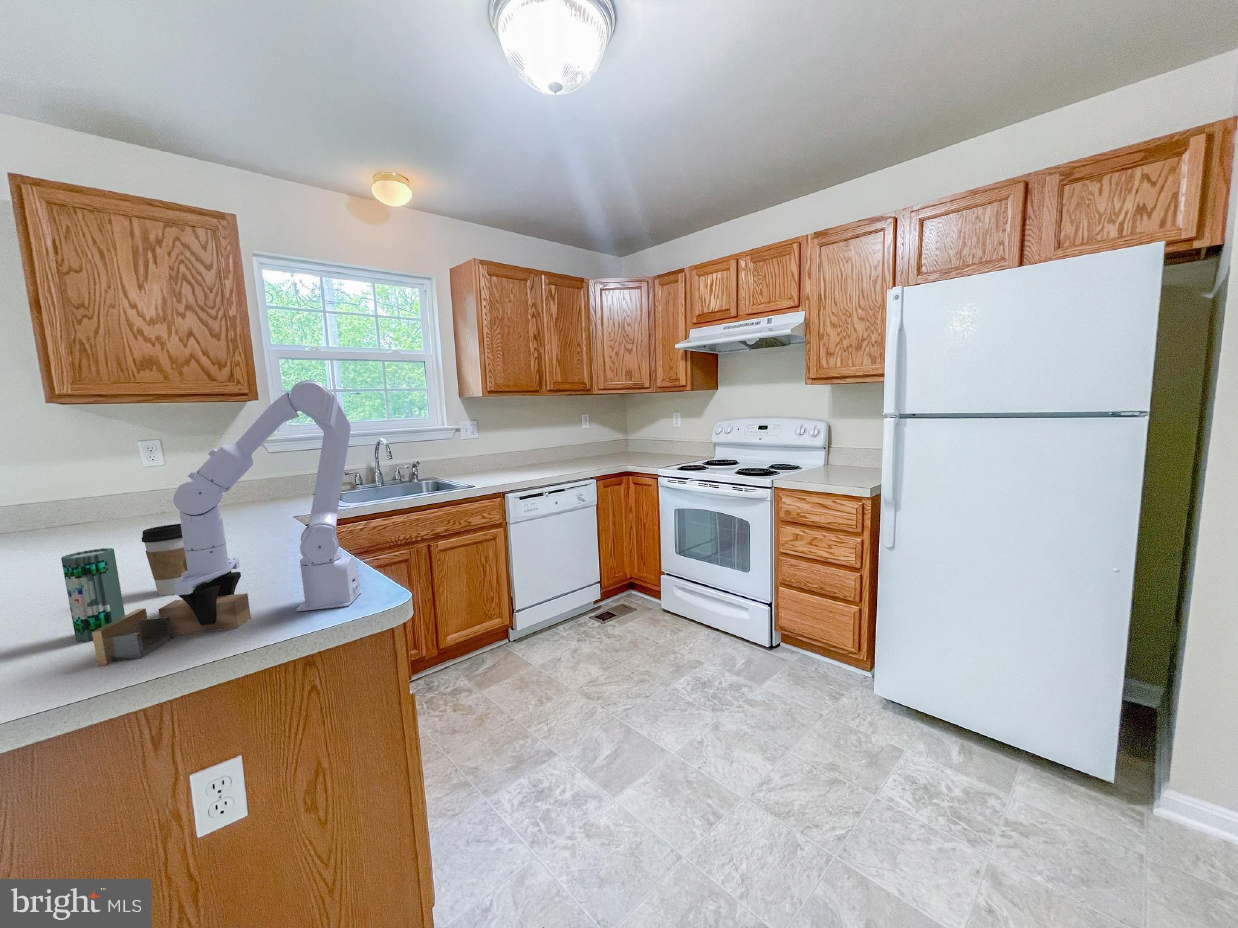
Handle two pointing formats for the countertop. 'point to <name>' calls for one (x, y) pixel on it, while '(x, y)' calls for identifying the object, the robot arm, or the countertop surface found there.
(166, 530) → the coffee cup
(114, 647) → the bracket
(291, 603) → the countertop surface
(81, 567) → the can
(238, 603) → the tan rectangular block
